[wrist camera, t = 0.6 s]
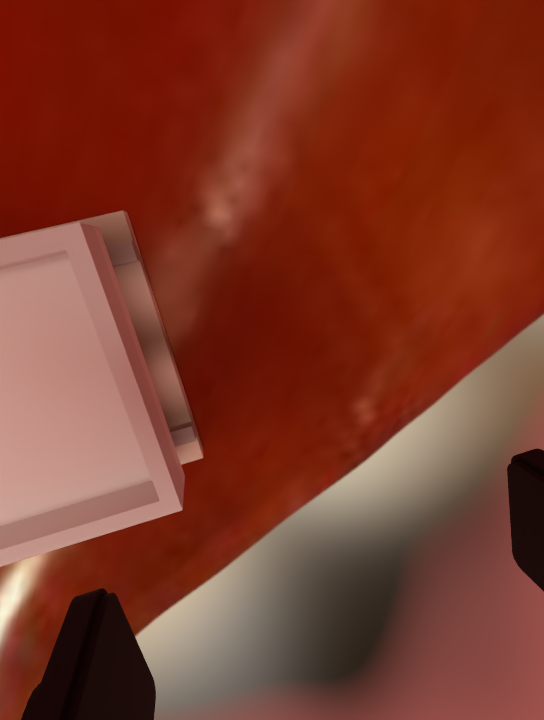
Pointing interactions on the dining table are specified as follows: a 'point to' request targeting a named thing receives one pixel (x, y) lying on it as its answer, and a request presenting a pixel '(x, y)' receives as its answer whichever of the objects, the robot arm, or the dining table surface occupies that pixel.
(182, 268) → the dining table surface
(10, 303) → the pink rimmed tray
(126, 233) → the rail board
